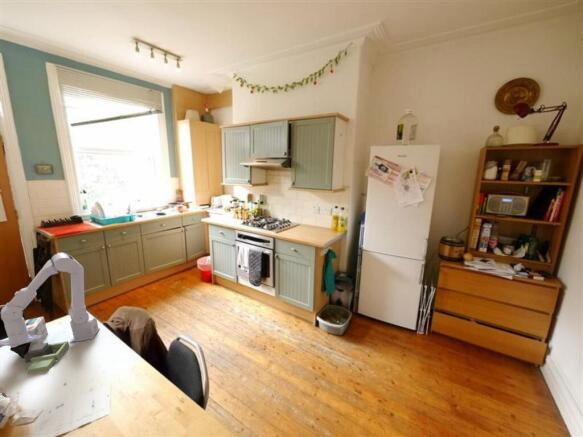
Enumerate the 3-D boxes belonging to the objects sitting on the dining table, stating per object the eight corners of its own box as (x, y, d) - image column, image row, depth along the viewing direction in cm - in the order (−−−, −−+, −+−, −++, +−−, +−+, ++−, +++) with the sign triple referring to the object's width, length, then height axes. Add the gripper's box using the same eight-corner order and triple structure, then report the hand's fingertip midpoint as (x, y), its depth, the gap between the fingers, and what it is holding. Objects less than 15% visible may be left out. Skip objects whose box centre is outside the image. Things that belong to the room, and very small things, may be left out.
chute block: (52, 351, 114) (49, 341, 113) (45, 359, 110) (42, 349, 108) (34, 354, 113) (31, 344, 111) (26, 363, 108) (22, 352, 107)
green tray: (69, 346, 118) (68, 341, 117) (51, 369, 105) (49, 363, 104) (44, 350, 115) (43, 345, 114) (23, 374, 102) (21, 368, 102)
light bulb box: (31, 338, 122) (25, 319, 120) (49, 334, 125) (44, 315, 123) (20, 353, 113) (13, 333, 110) (39, 348, 116) (34, 329, 113)
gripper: (-13, 340, 100) (-4, 367, 104) (31, 334, 104) (39, 360, 108) (1, 329, 107) (10, 355, 110) (42, 323, 111) (49, 348, 114)
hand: (25, 356), depth 109 cm, fingers closed
